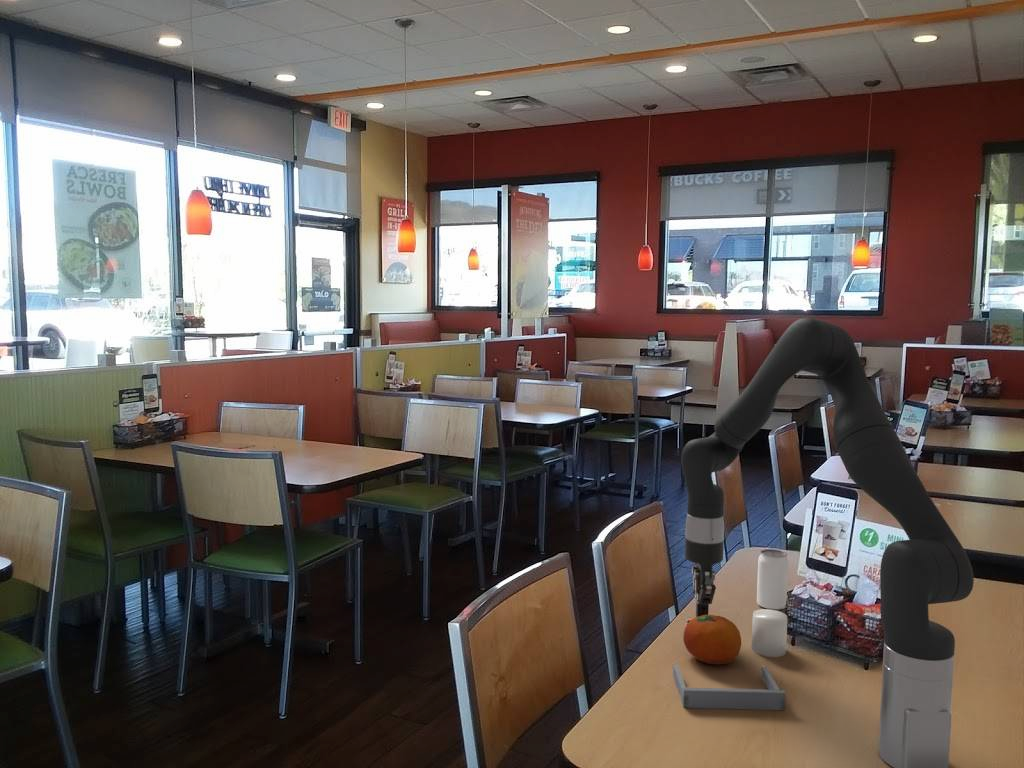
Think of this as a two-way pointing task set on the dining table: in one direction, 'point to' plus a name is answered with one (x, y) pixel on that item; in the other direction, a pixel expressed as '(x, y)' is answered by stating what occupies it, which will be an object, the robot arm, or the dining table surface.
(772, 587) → the can
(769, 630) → the white rounded cube
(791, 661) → the dining table surface
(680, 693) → the grey u-shaped bracket
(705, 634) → the fruit
